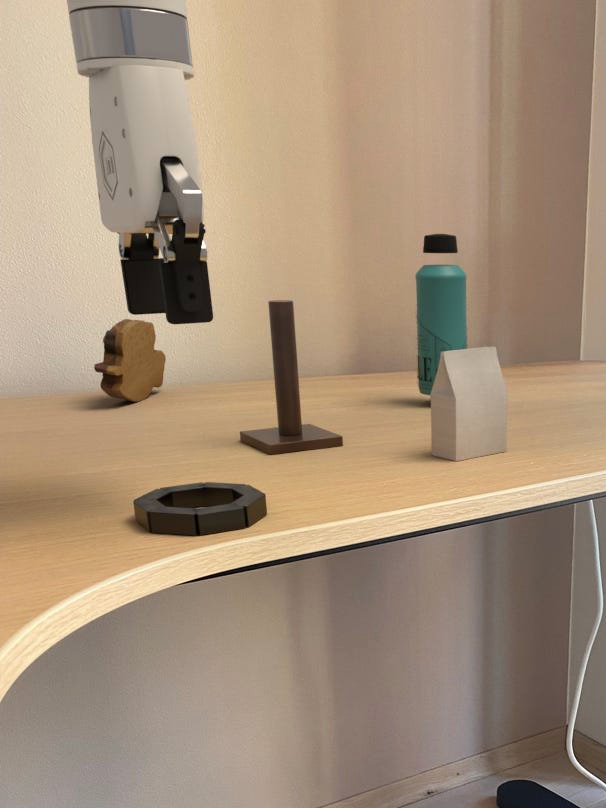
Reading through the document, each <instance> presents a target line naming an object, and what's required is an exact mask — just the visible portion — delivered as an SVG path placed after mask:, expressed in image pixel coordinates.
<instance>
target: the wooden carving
mask: <svg viewBox="0 0 606 808" xmlns="http://www.w3.org/2000/svg"><path fill="white" fill-rule="evenodd" d="M156 338H157V337H156V331H155V325H154V323H153V322H149V321H145V320H141V319H129V318H124V319H122V320H120V321H118V322H116V323H115V324H114V325H112V327H111V328H110V329H108V330H106V332H105V335H103V338H102V343H103V360H102V362H98V363H95V364H94V366H93V369H94V371H95V372H96V373H99V374H102V375H101V376H102V377H101V378H102V379H101V381H100V386H99V387H100V389H101V390H102V391H103V392H104V393H105V394H106V395H108V397H112V398H115V399H120V400H121V399H122V400H124V401H128V402H134V403H139V402H142V401H143V400H146V399H147V397H148V396H149V395H150V394H151V392H152V391H153V389H154V388H157V389H159V388H161V387H162V386H163V385H164V384H163V383H164V373H165V367H166V366H165V364H166V360H167V359H166V357H167V356H166V354H165V353H164V351H162V350H160V349H155V343H156V341H157V340H156Z"/></svg>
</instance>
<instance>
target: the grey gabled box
mask: <svg viewBox="0 0 606 808" xmlns="http://www.w3.org/2000/svg"><path fill="white" fill-rule="evenodd" d="M508 391H509V390H508V388H507V385H506V381H505V378H504V375H503V371H502V369H501V365H500V361H499V356H498V351H497V346H483V347H474V348H473V347H472V348H467V349H462V350H453V351H443V352H441V355H440V362H439V367H438V371H437V374H436V378H435V381H434V385H433V388H432V391H431V395H430V432H431V436H430V438H431V439H430V441H431V456H434V457H439V458H442V459H446V460H450V461H453V462H459V461H466V460H469V459H475V458H480V457H484V456H490V455H494V454H500V453H505V452H507V451H508V398H509V397H508V396H509V395H508V394H509V393H508Z"/></svg>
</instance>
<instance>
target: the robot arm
mask: <svg viewBox="0 0 606 808" xmlns="http://www.w3.org/2000/svg"><path fill="white" fill-rule="evenodd" d="M66 5H67V11H68V19H69V27H70V32H71V40H72V45H73V51H74V59H75V63H76V71H77V75H79V76H81V77H85V78H88V103H89V105H88V106H89V120H90V133H91V142H92V153H93V159H94V169H95V170H94V171H95V179H96V185H97V186H96V187H97V194H98V195H97V196H98V204H99V212H100V220H101V223H102V225H103V226H104V227H105V228H106V230H108V231H110V232H111V233H117V234H118V254H119V256H120V266H121V273H122V281H123V287H124V293H125V301H126V306H127V307H126V308H127V311H128V313H129V314H131V315H132V316H133V315H134V316H139V315H140V316H141V315H155V314H157V315H158V314H165V318H166V321H167V322H168V324H171V325H188V324H202V323H203V324H205V323H211V322H212V321H213V320H214V311H213V310H214V309H213V301H212V292H211V284H210V276H209V268H208V250H207V249H208V248H207V246H206V243H205V241H204V238H205V234H206V232H207V231H206V230H207V229H206V228H205V227H206V225H205V224H204V223H203V222H204V219H205V218H204V217H205V216H204V215H205V214H204V213H205V210H204V209H205V208H204V195H203V194H204V193H203V186H202V176H201V168H200V161H199V154H198V147H197V141H196V134H195V133H196V132H195V128H194V122H193V116H192V111H191V110H192V109H191V105H190V100H189V94H188V90H187V85H186V81H188V80H191V79H193V78H195V75H194V67H193V66H194V65H193V56H192V48H191V47H192V46H191V39H190V29H189V21H188V12H187V4H186V0H66ZM170 235H171V236H170ZM160 253H161V256H162V257H159V256H160Z"/></svg>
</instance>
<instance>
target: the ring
mask: <svg viewBox="0 0 606 808" xmlns="http://www.w3.org/2000/svg"><path fill="white" fill-rule="evenodd" d="M132 503H133V504H132V505H133V511H134V518H135V521H136V523H137V524H139V525H140V526H141V527H143V528H144V529H145V530H146V531H147V532H148V533H152V534H163V535H177V536H179V535H181V536H194V537H196V536H198V535H199V536H205V535H211V534H212V535H213V534H217V533H223V532H230V531H235V530H241V529H243V530H244V529H246V528H250V527H251V526H253V525H254V524H256V523H257V522H259V521H260V520H261V519H263V518H264V517H266V516H267V515H268V508H267V496H266V493H265V492H263V491H261V490H259V489H257V488H255V487H253V486H251V485H250V484H246V483H233V482H215V481H213V482H212V481H205V482H202V481H201V482H192V483H187V484H179V485H171V486H165V487H159V488H155V489H153V490H151V491H149V492H147V493H145V494H143V495H141V496H139V497H137V498H134V499H133V501H132Z"/></svg>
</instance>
